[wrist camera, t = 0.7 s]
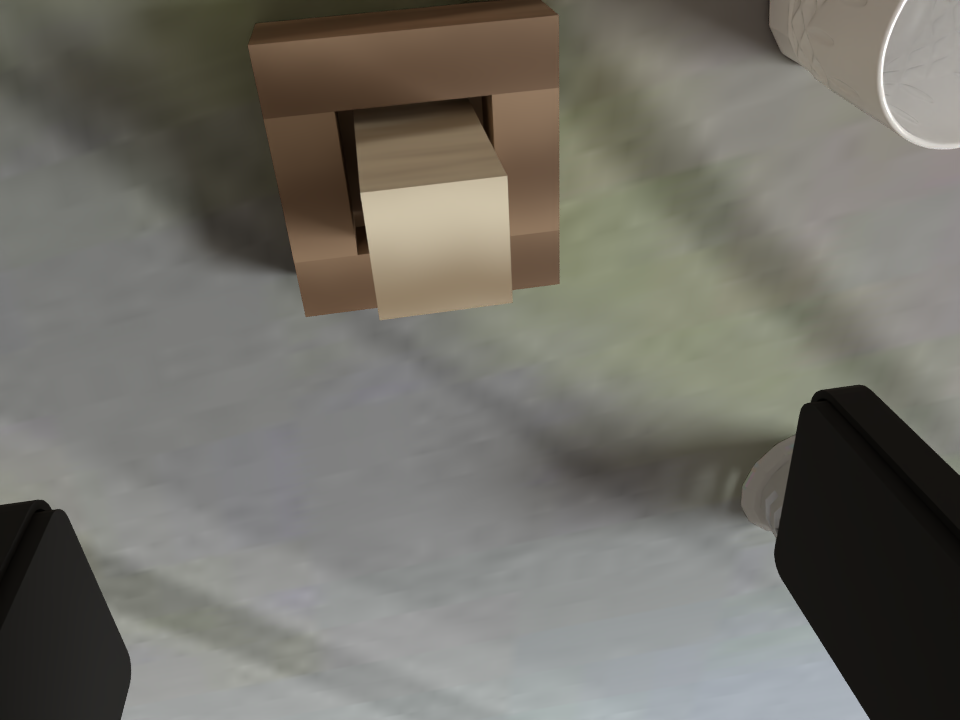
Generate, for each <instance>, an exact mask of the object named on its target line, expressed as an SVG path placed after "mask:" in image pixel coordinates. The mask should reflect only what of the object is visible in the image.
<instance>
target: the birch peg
mask: <svg viewBox="0 0 960 720" xmlns="http://www.w3.org/2000/svg"><path fill="white" fill-rule="evenodd" d="M353 116H354V128H355V139H356V150H357V162H358V173H359V184H360V195H361V201H362V208H363V214H364V221H365V227H366V234H367V240H368V247H369V253H370V260H371V267H372V273H373V280H374V286H375V293H376V299H377V306H378V312H379V319H380V320H385V319H393V318H400V317H408V316H415V315H423V314H431V313H438V312H446V311H453V310H461V309H468V308H476V307H484V306H491V305H499V304H506V303H513V300H512V276H511V252H510V227H509V203H508V179H507V174H506V172H505V170H504V168H503V166H502V164H501V162H500V160H499V158H498V156H497V154H496V152H495V150H494V148H493V146H492V144H491V142H490V141H489V139H488V137H487V135H486V133H485V131H484V129H483V127H482V125H481V123H480V121H479V119H478V117H477V115H476V113H475V111H474V109H473V107H472V105H471V103H470V101H469V99H468V98H458V99H449V100H440V101H430V102H421V103H412V104H402V105H393V106H383V107H374V108H365V109H355V110H353Z"/></svg>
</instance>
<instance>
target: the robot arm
mask: <svg viewBox="0 0 960 720" xmlns="http://www.w3.org/2000/svg"><path fill="white" fill-rule="evenodd" d="M774 557H775V563H776V567H777V570H778V573H779V575H780V577H781V579H782V581H783V582H784V584H785V585H786V587H787V588H788V590H789V592H790V593H791V595H792V596H793V598H794V600H795V601H796V603H797V604H798V606H799V608H800V609H801V611H802V612H803V614H804V615H805V617H806V619H807V620H808V622H809V623H810V625H811V627H812V628H813V630H814V631H815V633H816V635H817V636H818V638H819V639H820V641H821V642H822V644H823V646H824V647H825V649H826V650H827V652H828V654H829V655H830V657H831V658H832V660H833V661H834V663H835V665H836V666H837V668H838V669H839V671H840V673H841V674H842V676H843V677H844V679H845V681H846V682H847V684H848V685H849V687H850V688H851V690H852V692H853V693H854V695H855V696H856V698H857V700H858V701H859V703H860V704H861V706H862V708H863V709H864V711H865V712H866V714H867V715H868V717H869V719H870V720H960V475H958V474H957V473H956V472H955V471H954V470H953V469H952V468H951V467H950V466H949V465H948V464H947V463H946V462H945V461H944V460H943V459H942V458H941V457H940V456H939V455H938V454H937V453H936V452H935V451H934V450H933V449H932V448H931V447H929V446H928V445H927V444H926V443H925V442H924V441H923V440H922V439H921V438H920V437H919V436H918V435H917V434H916V433H915V432H914V431H913V430H912V429H911V428H910V427H909V426H908V425H907V424H906V423H905V422H904V421H903V420H902V419H900V418H899V417H898V416H897V415H896V414H895V413H894V412H893V411H892V410H891V409H890V408H889V407H888V406H887V405H886V404H885V403H884V402H883V401H882V400H881V399H880V398H879V397H878V396H877V395H876V394H875V393H874V392H873V391H871V390H870V389H869V388H867V387H866V386H863V385H854V386H846V387H839V388H832V389H825V390H820V391H818V392H816V393H815V394H814V396H813V397H812V400H811V403H807V404H804V405H803V407H802V408H801V411H800V415H799V420H798V426H797V431H796V436H795V442H794V447H793V452H792V458H791V463H790V468H789V474H788V479H787V485H786V490H785V495H784V501H783V506H782V511H781V517H780V522H779V528H778V533H777V538H776V544H775V550H774ZM130 680H131V663H130V657H129V654H128V651H127V649H126V646H125V644H124V642H123V640H122V637H121V635H120V633H119V631H118V628H117V626H116V624H115V622H114V619H113V617H112V615H111V613H110V610H109V608H108V606H107V604H106V601H105V599H104V597H103V595H102V592H101V590H100V588H99V586H98V583H97V581H96V579H95V577H94V574H93V572H92V570H91V568H90V565H89V563H88V561H87V559H86V556H85V554H84V552H83V550H82V547H81V545H80V543H79V541H78V538H77V536H76V534H75V532H74V529H73V527H72V525H71V523H70V520H69V518H68V516H67V515H66V513H65V512H64V511H63V510H61V509H56V510H52V509H51V507H50V506H49V504H48V503H46V502H45V501H44V500H33V501H26V502H19V503H12V504H4V505H0V720H121V716H122V712H123V709H124V705H125V701H126V697H127V693H128V689H129V685H130Z"/></svg>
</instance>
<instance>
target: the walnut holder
mask: <svg viewBox="0 0 960 720" xmlns="http://www.w3.org/2000/svg"><path fill="white" fill-rule="evenodd" d="M248 49H249V54H250V59H251V63H252V68H253V73H254V77H255V82H256V87H257V91H258V96H259V101H260V105H261V110H262V115H263V119H264V124H265V129H266V133H267V138H268V143H269V147H270V152H271V157H272V161H273V166H274V171H275V175H276V180H277V185H278V189H279V194H280V199H281V203H282V208H283V213H284V217H285V222H286V227H287V231H288V236H289V241H290V245H291V250H292V255H293V259H294V264H295V269H296V273H297V278H298V283H299V287H300V292H301V297H302V301H303V306H304V311H305V315H306V317H310V316H317V315H325V314H333V313H340V312H348V311H356V310H363V309H371V308H378V306H377V299H376V293H375V286H374V280H373V273H372V267H371V260H370V253H369V247H368V240H367V234H366V227H365V221H364V214H363V208H362V201H361V195H360V184H359V173H358V162H357V150H356V139H355V128H354V116H353V110H355V109H365V108H374V107H383V106H393V105H402V104H412V103H421V102H430V101H440V100H449V99H458V98H468V99H469V101H470V103H471V105H472V107H473V109H474V111H475V113H476V115H477V117H478V119H479V121H480V123H481V125H482V127H483V129H484V131H485V133H486V135H487V137H488V139H489V141H490V142H491V144H492V146H493V148H494V150H495V152H496V154H497V156H498V158H499V160H500V162H501V164H502V166H503V168H504V170H505V172H506V174H507V179H508V203H509V227H510V252H511V276H512V290H516V289H524V288H532V287H539V286H547V285H555V284H559V15H558V14H557V13H556V12H554V11H553V10H552V9H551V8H550V7H548V6H547V5H546V4H545V3H544V2H543V1H541V0H497V1H486V2H476V3H465V4H454V5H444V6H433V7H423V8H412V9H402V10H391V11H381V12H370V13H360V14H349V15H339V16H328V17H317V18H307V19H296V20H286V21H275V22H265V23H255V26H254V29H253V32H252V35H251V38H250V40H249V43H248Z"/></svg>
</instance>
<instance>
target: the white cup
mask: <svg viewBox="0 0 960 720" xmlns="http://www.w3.org/2000/svg"><path fill="white" fill-rule="evenodd" d="M769 27H770V29H771V31H772V33H773V35H774V37H775V40H776V42H777V44H778V46H779V48H780V50H781V53H782V54H784V55H785V56H787V57H788V58H790V59H792V60H793V61H795V62H796V63H798V64H799V65H801V66H803V67H804V68H805V69H806V70H808V71H809V72H810V73H811V74H812V75H813V77H814V78H815V79H816V80H817V81H819V82H820V83H822V84H823V85H825V86H826V87H827V88H829V89H830V90H831V91H832V92H834V93H836V94H837V95H839V96H840V97H842V98H843V99H845V100H846V101H848V102H849V103H851V104H852V105H854V106H855V107H857V108H858V109H860V110H861V111H863V112H864V113H866V114H867V115H869V116H871V117H872V118H874V119H875V120H877V121H878V122H880V123H881V124H883V125H884V126H886V127H888V128H889V129H891V130H892V131H894V132H895V133H897V134H898V135H900V136H901V137H903V138H904V139H906V140H907V141H909V142H911V143H913V144H916V145H918V146H921V147H925V148H931V149H954V148H960V0H770V10H769Z"/></svg>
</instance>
